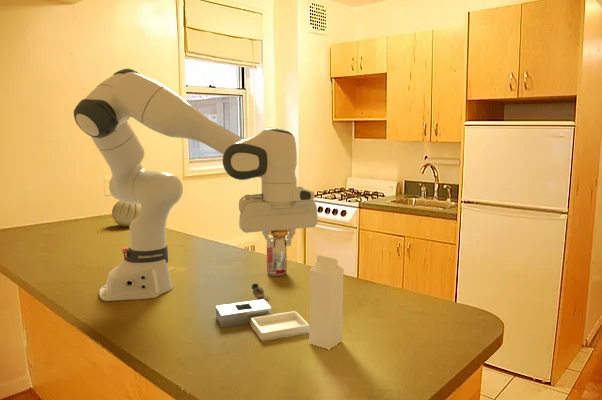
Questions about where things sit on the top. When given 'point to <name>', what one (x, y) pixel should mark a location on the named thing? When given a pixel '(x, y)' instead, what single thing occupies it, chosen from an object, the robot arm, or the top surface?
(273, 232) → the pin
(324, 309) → the milk
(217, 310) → the white block with hole
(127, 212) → the pale beige ball
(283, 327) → the tray
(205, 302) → the top surface
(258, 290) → the vase
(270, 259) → the soda can
